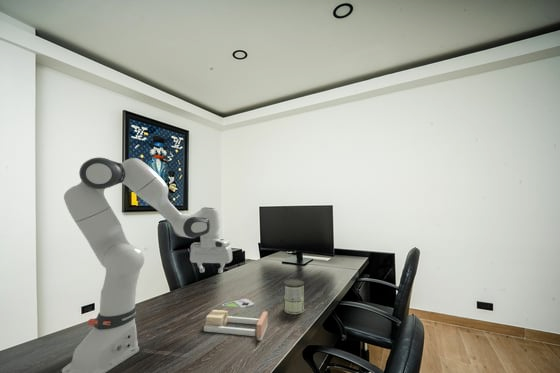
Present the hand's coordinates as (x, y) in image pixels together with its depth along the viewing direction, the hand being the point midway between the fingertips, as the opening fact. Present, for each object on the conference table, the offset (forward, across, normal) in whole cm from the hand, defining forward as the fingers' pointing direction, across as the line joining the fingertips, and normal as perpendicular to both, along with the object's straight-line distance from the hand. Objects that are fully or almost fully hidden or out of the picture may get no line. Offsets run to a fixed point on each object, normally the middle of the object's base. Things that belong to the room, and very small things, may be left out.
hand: (211, 272), depth 110 cm
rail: (+23, +12, -3) cm, 27 cm away
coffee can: (+25, +34, +22) cm, 48 cm away
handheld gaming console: (+24, +4, +20) cm, 32 cm away
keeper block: (+22, +4, -4) cm, 22 cm away
